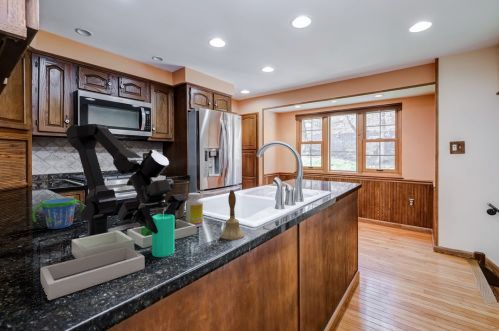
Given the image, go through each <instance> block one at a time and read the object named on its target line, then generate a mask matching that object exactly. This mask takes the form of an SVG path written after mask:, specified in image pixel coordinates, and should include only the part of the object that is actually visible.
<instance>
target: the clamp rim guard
mask: <svg viewBox="0 0 499 331" xmlns="http://www.w3.org/2000/svg"><path fill="white" fill-rule="evenodd" d="M142 227H144V226H143V225H142V226H139V227H134V228H130V229H127V230H126V231H127V233H126V235H127V236H129V237H131V238H132V239H134V245H135V244H136V245H137V246H139V247H140V248H142V249H145V248H148V247H149V248H150V247H152V235H149V236H143V235H141V228H142ZM197 229H198V227H197V225H194V224H191V223H188V222H186V220H182V219H180V218H178V219H176V228H175V240H179V239H182V238H187V237H191V236H194V235H197V234H198V233H197V232H198V231H197Z"/></svg>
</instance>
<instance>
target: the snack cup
mask: <svg viewBox="0 0 499 331" xmlns="http://www.w3.org/2000/svg"><path fill="white" fill-rule="evenodd" d="M77 203H79V204H80V213H81V212H82V210H83V209H84V208H85V206H84V204H83V202H82V201H80V200H78V199H76V198H74V197H73V198H71V197H65V198H63V197H62V198H54V199H53V198H52V199H46V200H43V201H42V202H41V203H39V204H38V205H36V206H35V207H34V209H33V211H32V217H31V218H32V220H33V223H36V222H37V218H36V211H37V210H38V209H39V208H40V207H41V208H42V211H43V213H44V218H45V222H46V227H47V228H48V229H50V230H51V229H52V230H57V229H58V230H59V229H64V228H68V227H71V225H72V224H73V222H74V214H75V208H76V205H77ZM80 213H79V214H80Z"/></svg>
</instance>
